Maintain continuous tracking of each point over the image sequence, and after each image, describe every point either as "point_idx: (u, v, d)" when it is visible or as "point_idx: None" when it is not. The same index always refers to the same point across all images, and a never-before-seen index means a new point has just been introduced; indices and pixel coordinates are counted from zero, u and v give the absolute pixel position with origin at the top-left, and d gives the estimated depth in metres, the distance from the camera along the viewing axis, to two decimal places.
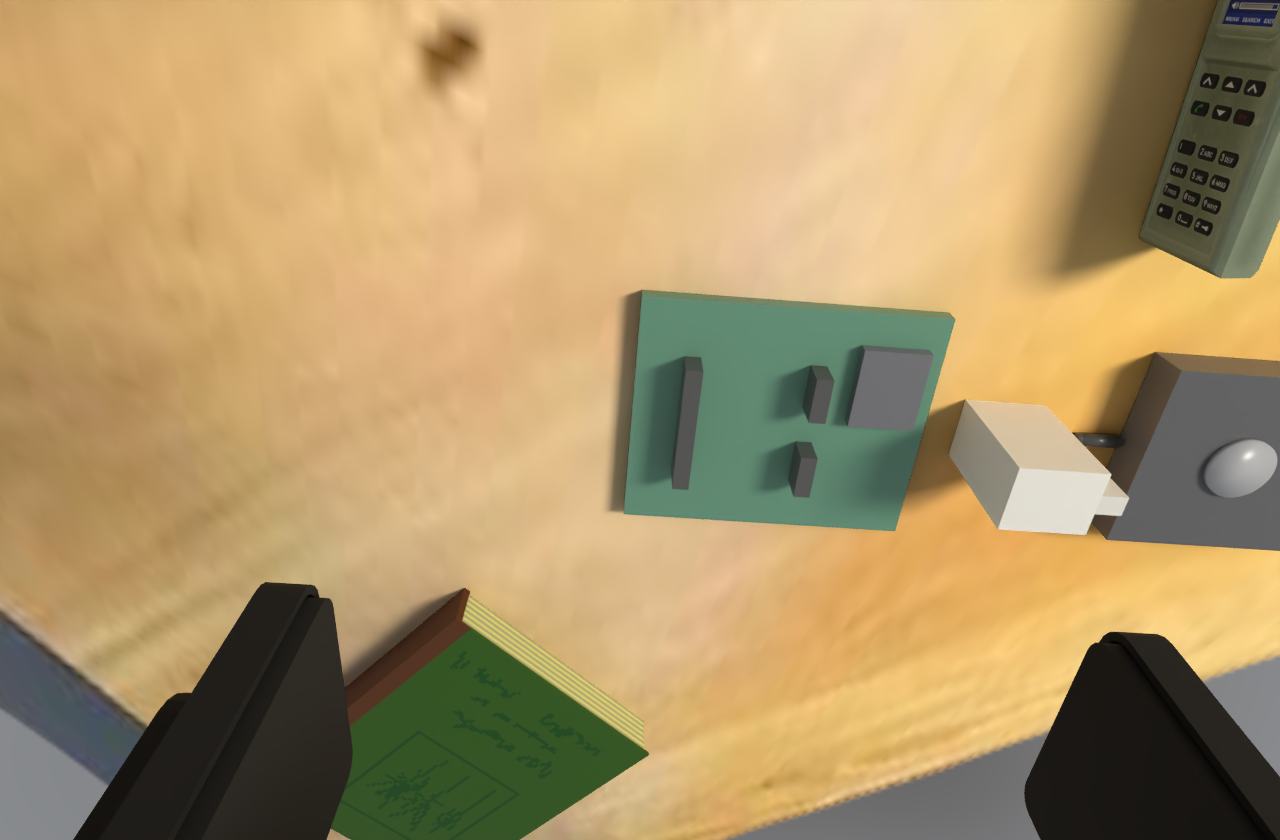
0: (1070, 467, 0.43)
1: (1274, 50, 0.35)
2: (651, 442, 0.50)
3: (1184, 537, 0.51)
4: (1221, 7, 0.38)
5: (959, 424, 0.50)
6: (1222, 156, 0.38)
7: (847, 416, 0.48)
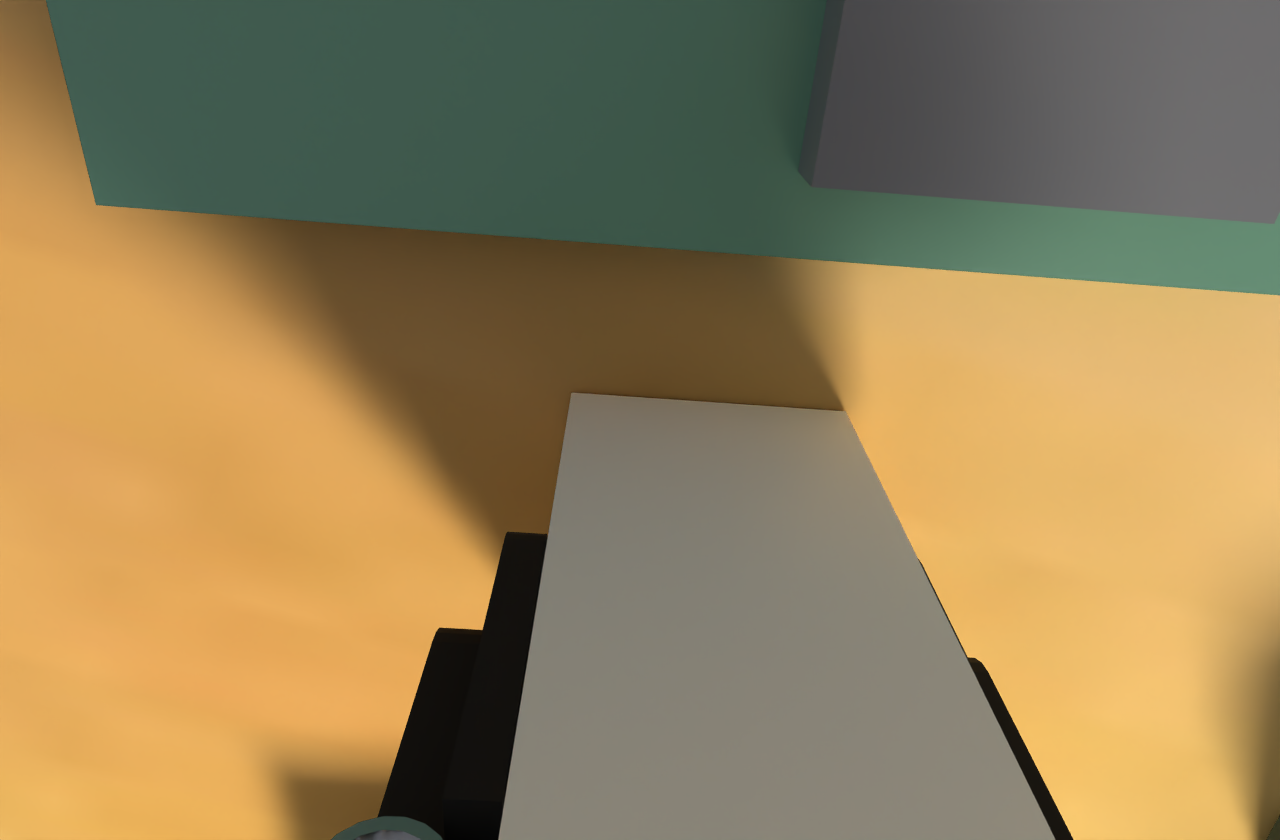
0: None
1: None
2: None
3: None
4: None
5: (734, 410, 0.11)
6: None
7: None
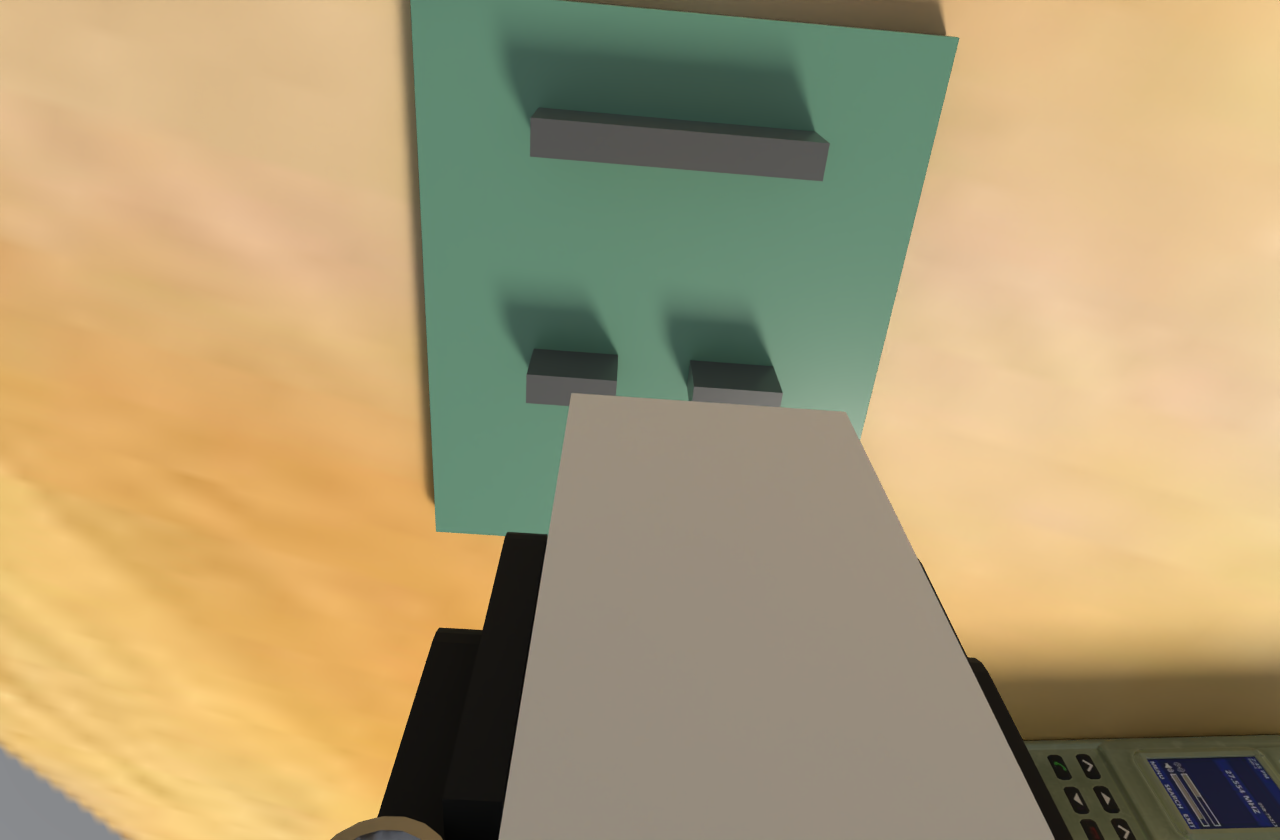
0: None
1: None
2: (613, 58, 0.22)
3: None
4: (1154, 749, 0.36)
5: (734, 410, 0.11)
6: None
7: None
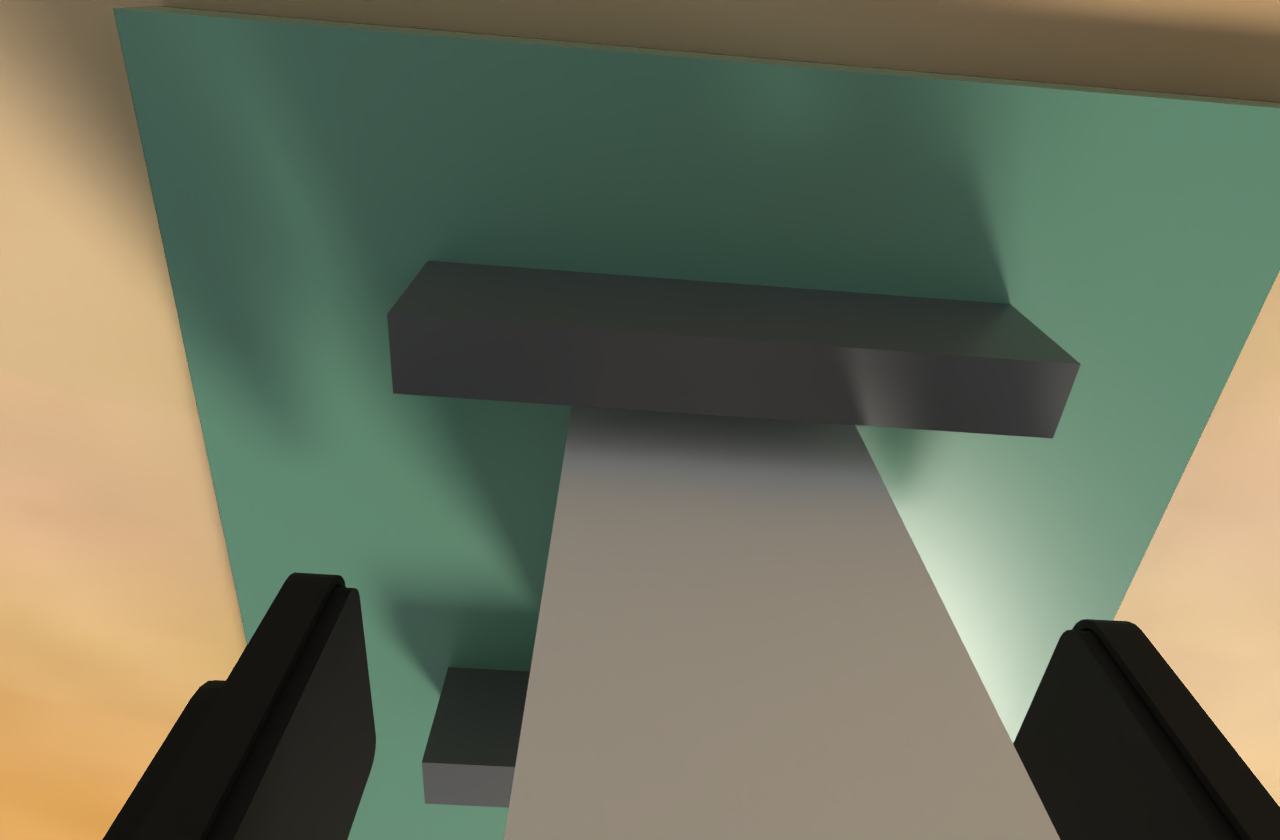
0: None
1: None
2: (583, 162, 0.10)
3: None
4: None
5: None
6: None
7: None
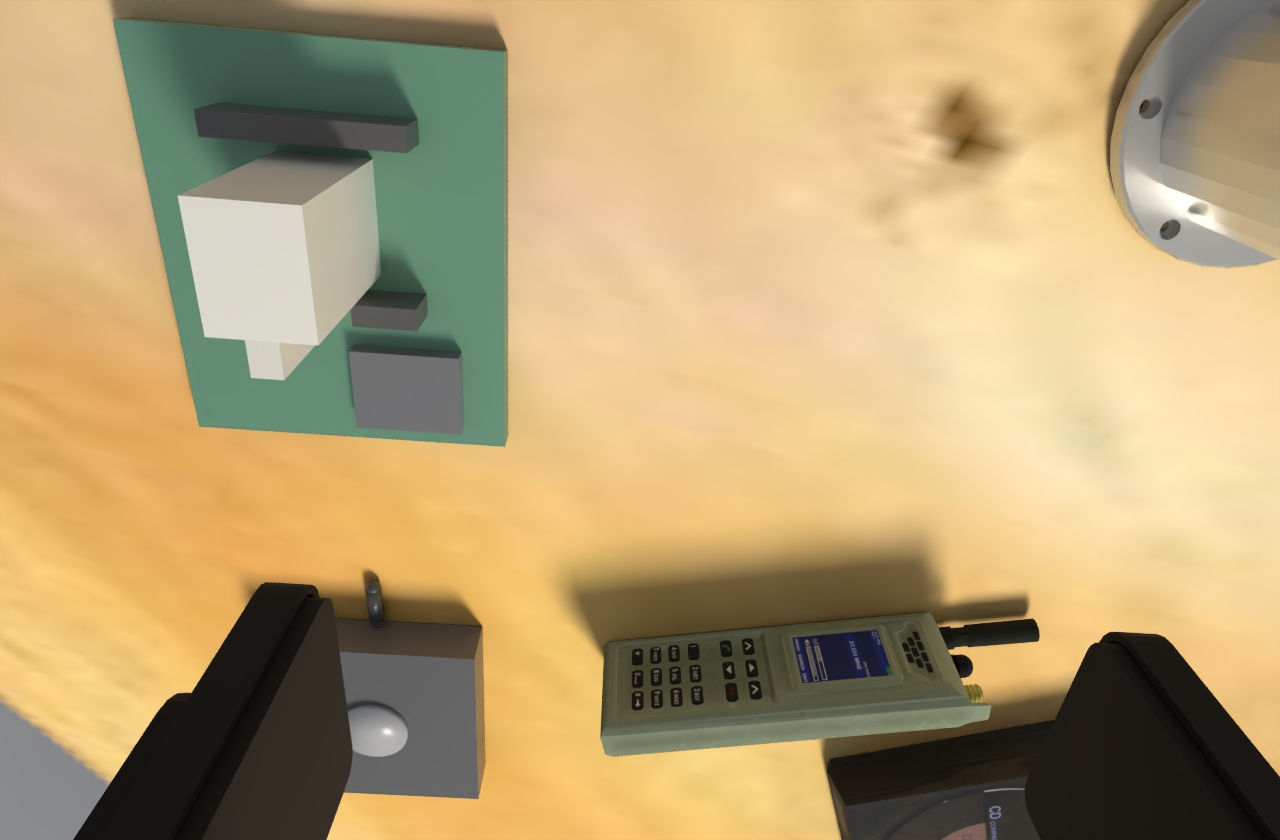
0: (315, 286, 0.28)
1: (786, 693, 0.42)
2: (263, 68, 0.32)
3: None
4: (802, 630, 0.46)
5: (330, 156, 0.33)
6: (697, 688, 0.44)
7: (362, 347, 0.37)
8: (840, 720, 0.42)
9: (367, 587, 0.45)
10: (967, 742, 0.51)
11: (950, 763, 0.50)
